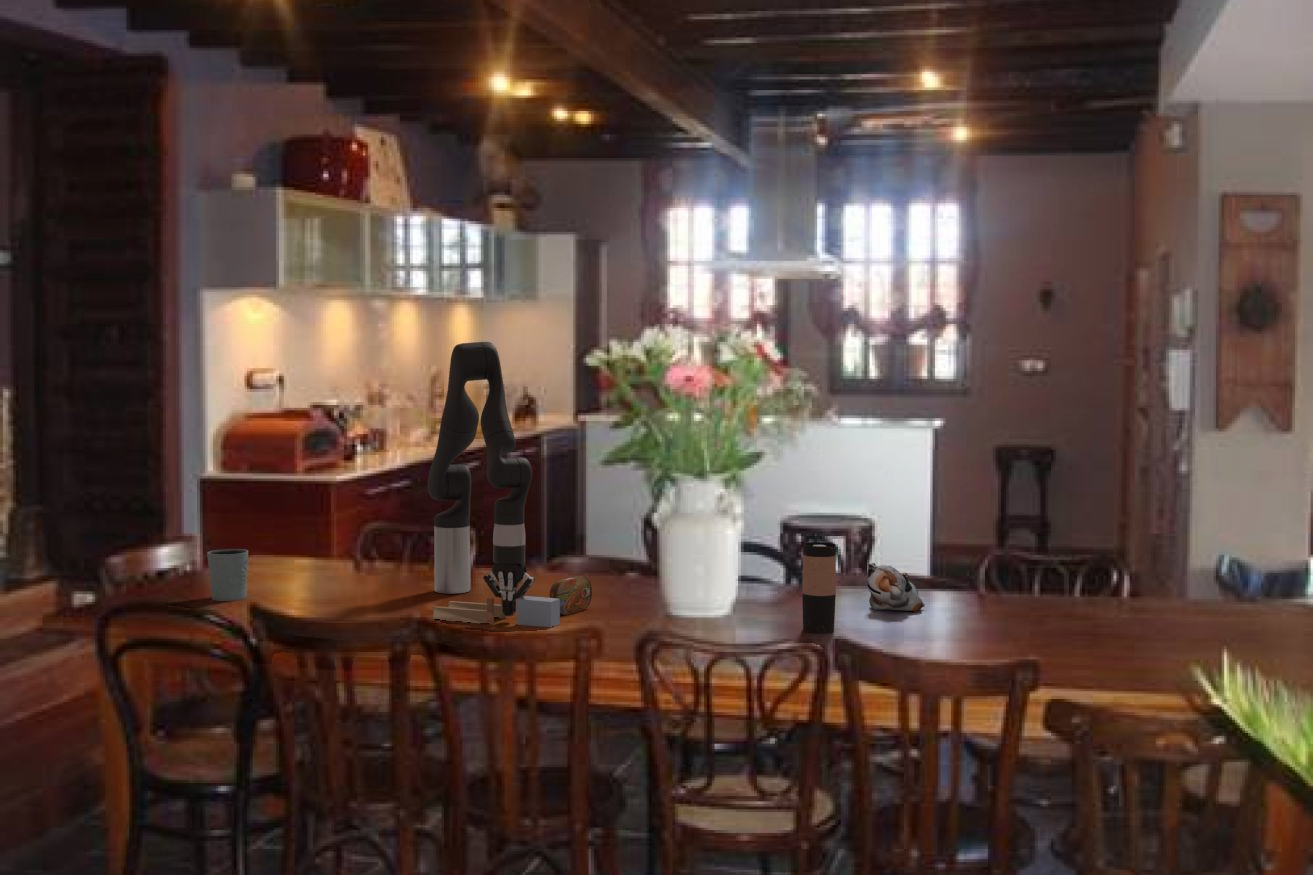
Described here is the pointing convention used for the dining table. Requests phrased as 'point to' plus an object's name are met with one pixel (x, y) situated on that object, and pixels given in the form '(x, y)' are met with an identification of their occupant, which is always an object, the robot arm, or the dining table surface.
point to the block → (538, 611)
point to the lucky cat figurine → (891, 590)
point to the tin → (572, 594)
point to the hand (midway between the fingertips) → (509, 615)
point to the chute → (470, 612)
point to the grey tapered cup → (228, 574)
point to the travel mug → (819, 586)
